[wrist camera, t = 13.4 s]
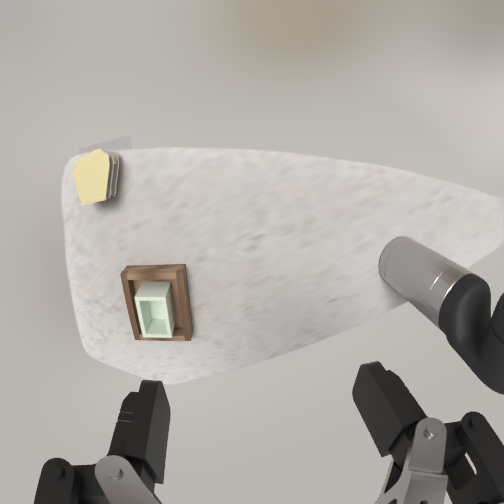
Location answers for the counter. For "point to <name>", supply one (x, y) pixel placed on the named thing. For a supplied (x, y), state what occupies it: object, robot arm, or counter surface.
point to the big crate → (178, 279)
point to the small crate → (156, 309)
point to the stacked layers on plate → (99, 170)
